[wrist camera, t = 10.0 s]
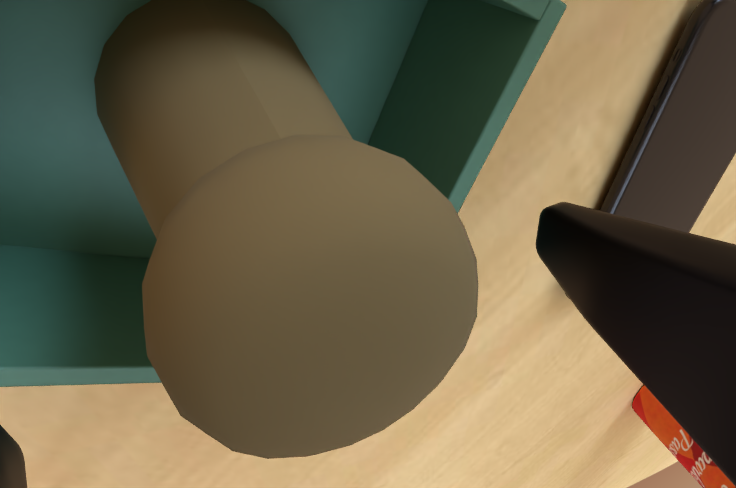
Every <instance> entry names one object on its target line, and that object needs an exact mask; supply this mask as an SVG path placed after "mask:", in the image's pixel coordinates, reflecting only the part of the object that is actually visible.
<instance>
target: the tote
mask: <svg viewBox="0 0 736 488" xmlns="http://www.w3.org/2000/svg"><path fill="white" fill-rule="evenodd" d="M149 1H151V0H0V387H12V386H50V385H87V384H124V383H161V380H160V378H159V377H158V375H157V373H156V371H155V369H154V368H153V366H152V364H151V362H150V360H149V359H148V357H147V350H146V341H145V332H144V316H143V294H142V283H143V280H144V276H145V273H146V270H147V266H148V263H149V260H150V257H151V255H152V252H153V249H154V247H155V244H156V241H157V239H156V237H155V235H154V233H153V231H152V229H151V227H150V224H149V222H148V220H147V218H146V216H145V214H144V212H143V210H142V208H141V206H140V204H139V202H138V200H137V197H136V195H135V193H134V191H133V189H132V187H131V185H130V183H129V181H128V179H127V177H126V175H125V173H124V171H123V168H122V166H121V164H120V162H119V160H118V158H117V156H116V154H115V152H114V150H113V148H112V146H111V144H110V141H109V139H108V137H107V135H106V133H105V130H104V128H103V126H102V124H101V122H100V119H99V117H98V115H97V107H96V95H95V84H94V78H95V74H96V71H97V68H98V64H99V61H100V57H101V54H102V50H103V47H104V44H105V43H106V42H107V40H108V39H109V38H110V36H111V35H112V34H113V32H114V31H115V30H116V29H117V27H118V26H119V25H120V23H121V22H122V21H123V19H124V18H125V17H126V15H128V14H130V13H131V12H133V11H135V10H136V9H138V8H140V7H141V6H143V5H144V4H146V3H148V2H149ZM247 1H249V2H251V3H253V4H255V5H257V6H259V7H261V8H263V9H265V10H266V11H267V12H268V13H269V14H270V15H271V16H272V17H273V18H274V19H275V20H276V21H277V22H278V23H279V24H280V25H281V26H282V27H283V28H284V29H285V30H286V31H287V32H288V33H289V34H290V35H291V37H292V39H293V40H294V42H295V44H296V45H297V47H298V49H299V50H300V52H301V54H302V55H303V57H304V59H305V60H306V62H307V64H308V65H309V67H310V69H311V70H312V72H313V74H314V75H315V77H316V79H317V80H318V82H319V84H320V85H321V87H322V89H323V90H324V92H325V94H326V95H327V97H328V99H329V100H330V102H331V104H332V105H333V107H334V109H335V110H336V112H337V114H338V115H339V117H340V119H341V120H342V122H343V124H344V125H345V127H346V129H347V130H348V132H349V134H350V135H351V137H352V139H353V140H356V141H358V142H361V143H364V144H367V145H369V146H372V147H374V148H377V149H380V150H382V151H385V152H388V153H390V154H393V155H396V156H398V157H401V158H403V159H405V160H406V161H407V162H408V163H409V164H411V165H412V166H413V167H414V168H415V169H416V170H417V171H419V172H420V173H421V174H422V175H423V176H424V177H425V178H426V179H427V180H428V181H429V182H430V183H431V184H432V185H434V186H435V187H436V188H437V189H438V190H439V191H440V192H441V193H442V194H443V195H444V196H445V197H446V198H447V199H448V200H449V201H450V202H451V203H452V205H453V207H454V208H455V210H456V212H457V214H458V212H459V210H460V208H461V206H462V204H463V202H464V200H465V198H466V197H467V195H468V193H469V191H470V189H471V187H472V185H473V183H474V181H475V180H476V178H477V176H478V174H479V172H480V170H481V168H482V166H483V164H484V162H485V161H486V159H487V157H488V155H489V153H490V151H491V149H492V147H493V145H494V144H495V142H496V140H497V138H498V136H499V134H500V132H501V130H502V128H503V127H504V125H505V123H506V121H507V119H508V117H509V115H510V113H511V111H512V109H513V108H514V106H515V104H516V102H517V100H518V98H519V96H520V94H521V92H522V91H523V89H524V87H525V85H526V83H527V81H528V79H529V77H530V75H531V73H532V72H533V70H534V68H535V66H536V64H537V62H538V60H539V58H540V56H541V55H542V53H543V51H544V49H545V47H546V45H547V43H548V41H549V39H550V38H551V36H552V34H553V32H554V30H555V28H556V26H557V24H558V22H559V20H560V19H561V17H562V15H563V13H564V11H565V9H566V4H565V3H564V2H562V1H560V0H247Z"/></svg>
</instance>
